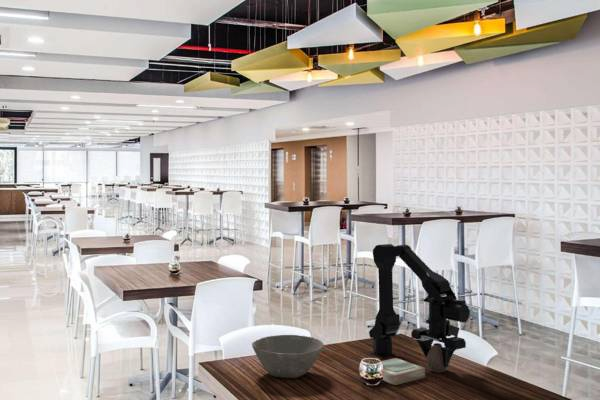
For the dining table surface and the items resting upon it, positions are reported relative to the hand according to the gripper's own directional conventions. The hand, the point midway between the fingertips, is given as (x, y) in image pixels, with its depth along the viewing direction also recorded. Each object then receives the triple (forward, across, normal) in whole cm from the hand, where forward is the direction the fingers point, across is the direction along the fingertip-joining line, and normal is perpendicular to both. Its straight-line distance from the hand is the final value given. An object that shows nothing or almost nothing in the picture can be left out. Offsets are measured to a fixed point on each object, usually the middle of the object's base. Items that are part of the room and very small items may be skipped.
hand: (437, 364), depth 183 cm
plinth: (+2, +4, +15) cm, 16 cm away
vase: (+2, 0, 0) cm, 2 cm away
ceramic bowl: (+2, +24, +43) cm, 49 cm away
